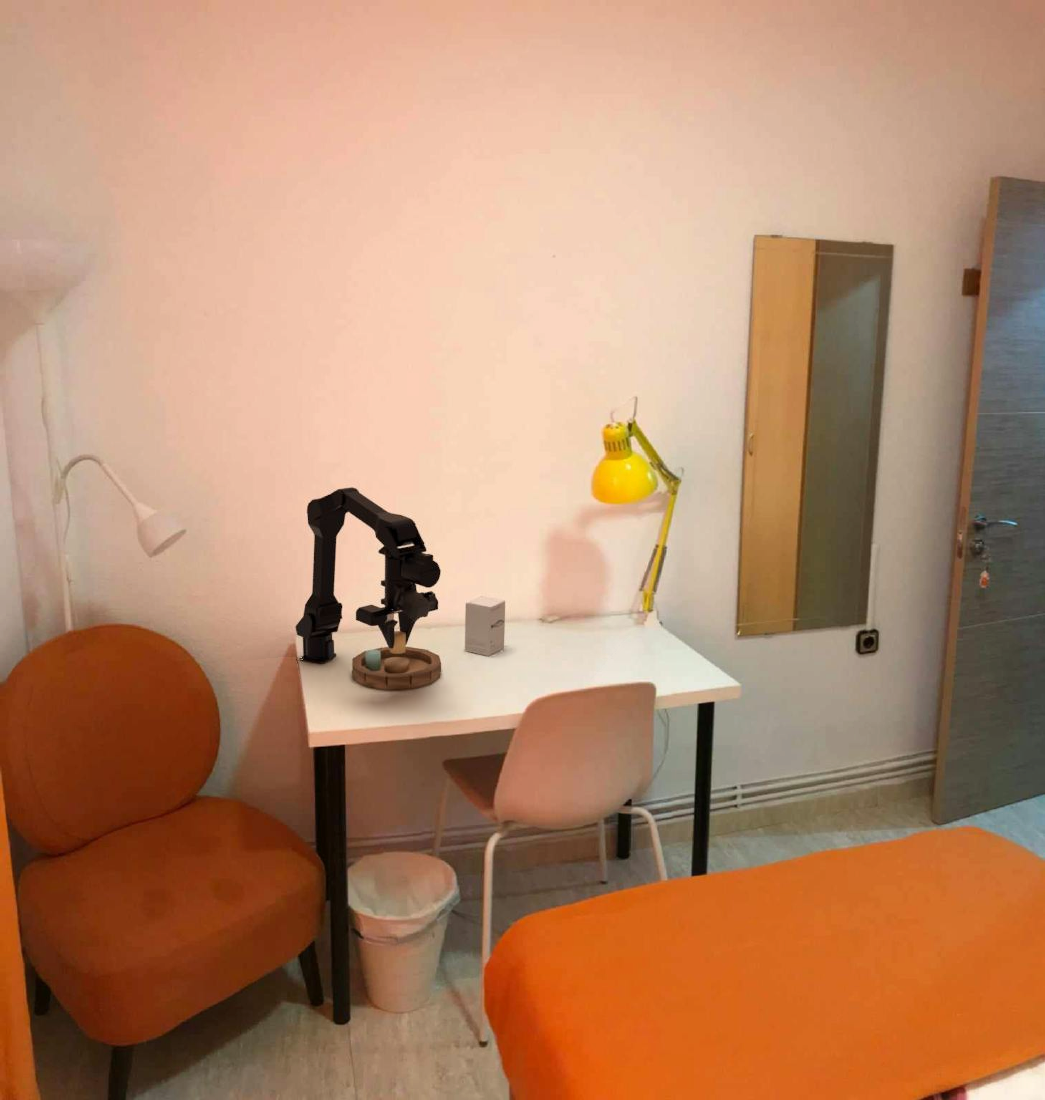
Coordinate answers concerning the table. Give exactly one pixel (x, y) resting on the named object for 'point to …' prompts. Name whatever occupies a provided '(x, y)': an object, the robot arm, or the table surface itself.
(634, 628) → the table surface
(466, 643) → the supplement box
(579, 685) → the table surface
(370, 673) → the groove tray
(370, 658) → the bead
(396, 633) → the bead
